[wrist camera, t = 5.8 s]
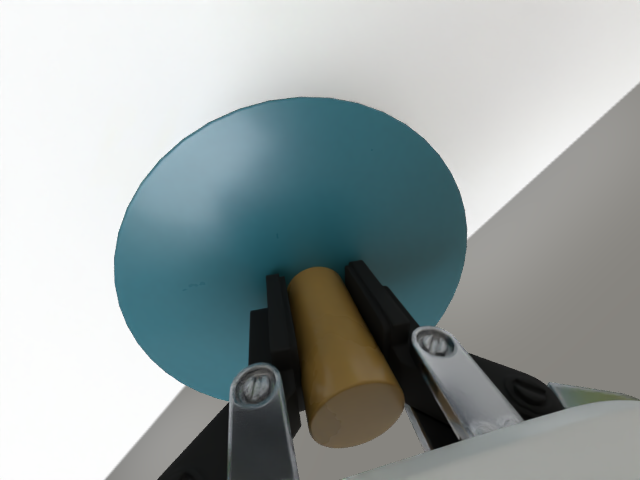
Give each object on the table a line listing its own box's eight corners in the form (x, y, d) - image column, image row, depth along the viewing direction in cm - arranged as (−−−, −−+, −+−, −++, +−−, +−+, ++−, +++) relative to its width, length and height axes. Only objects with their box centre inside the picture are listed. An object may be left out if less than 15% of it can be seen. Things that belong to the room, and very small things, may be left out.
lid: (50, 110, 8) (-573, 75, 2) (478, 91, 11) (761, 50, 5) (186, 413, 14) (137, 618, 8) (430, 354, 17) (523, 478, 11)
